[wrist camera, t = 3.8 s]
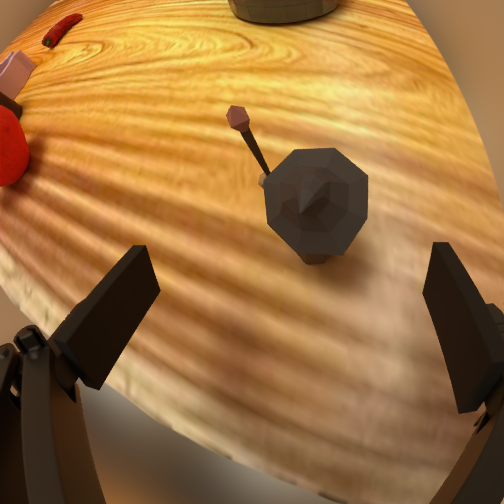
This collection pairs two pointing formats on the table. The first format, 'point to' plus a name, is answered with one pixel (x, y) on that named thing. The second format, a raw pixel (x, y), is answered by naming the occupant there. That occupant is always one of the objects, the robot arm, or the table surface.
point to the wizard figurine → (310, 196)
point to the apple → (12, 148)
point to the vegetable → (60, 30)
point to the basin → (281, 9)
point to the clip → (14, 73)
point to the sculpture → (10, 105)
